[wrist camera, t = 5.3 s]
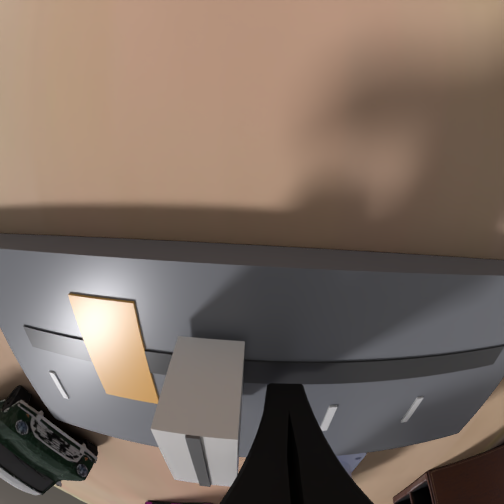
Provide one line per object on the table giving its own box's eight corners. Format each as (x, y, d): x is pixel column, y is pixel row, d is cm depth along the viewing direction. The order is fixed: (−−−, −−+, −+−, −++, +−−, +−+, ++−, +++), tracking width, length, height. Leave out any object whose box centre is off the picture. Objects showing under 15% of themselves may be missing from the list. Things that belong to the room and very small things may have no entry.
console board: (452, 418, 17) (458, 434, 16) (62, 404, 18) (54, 419, 16) (543, 263, 11) (560, 277, 10) (-14, 232, 11) (-33, 246, 10)
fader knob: (242, 408, 13) (236, 489, 9) (189, 403, 13) (174, 481, 9) (244, 341, 11) (237, 442, 7) (178, 336, 11) (149, 431, 7)
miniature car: (111, 443, 20) (87, 519, 13) (35, 445, 25) (16, 491, 18) (30, 378, 17) (-13, 457, 10) (-18, 400, 22) (-44, 446, 15)
